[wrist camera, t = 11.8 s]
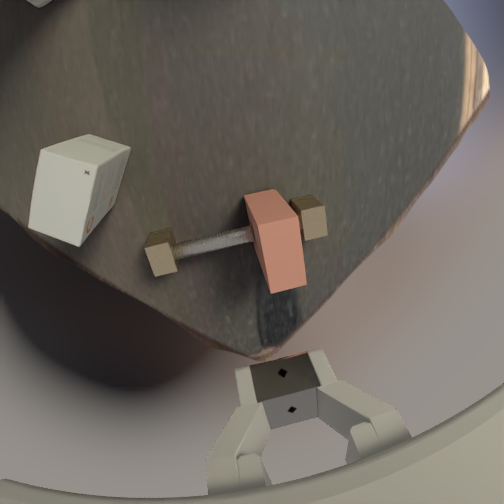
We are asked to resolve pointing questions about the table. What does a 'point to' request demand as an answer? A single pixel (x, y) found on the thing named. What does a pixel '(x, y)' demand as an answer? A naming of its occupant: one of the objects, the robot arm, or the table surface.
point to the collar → (276, 240)
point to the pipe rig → (228, 237)
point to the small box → (76, 186)
